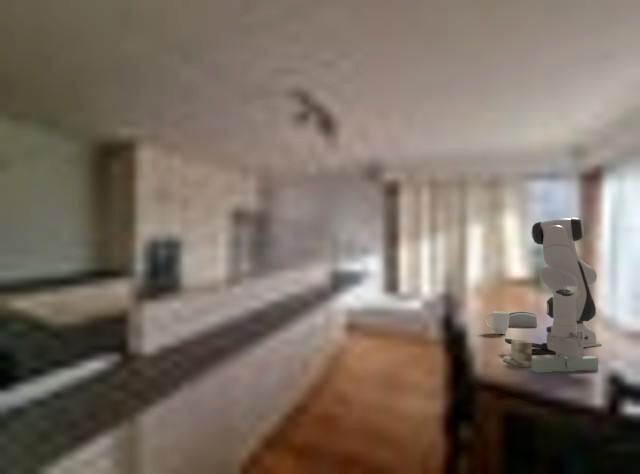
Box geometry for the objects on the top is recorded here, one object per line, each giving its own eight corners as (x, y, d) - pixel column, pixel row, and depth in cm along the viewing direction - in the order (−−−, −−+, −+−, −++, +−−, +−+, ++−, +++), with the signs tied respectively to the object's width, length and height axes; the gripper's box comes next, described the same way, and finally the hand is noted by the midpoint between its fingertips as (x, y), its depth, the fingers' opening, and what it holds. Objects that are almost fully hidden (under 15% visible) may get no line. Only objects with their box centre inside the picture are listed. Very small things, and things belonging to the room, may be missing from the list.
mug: (509, 333, 308) (509, 311, 308) (508, 336, 300) (508, 313, 300) (487, 331, 313) (487, 310, 312) (485, 335, 304) (485, 312, 304)
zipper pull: (503, 337, 261) (560, 339, 258) (503, 352, 261) (560, 353, 258) (507, 341, 252) (566, 342, 249) (507, 356, 252) (566, 358, 249)
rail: (592, 368, 231) (592, 355, 231) (598, 370, 227) (598, 358, 227) (531, 370, 228) (531, 358, 228) (536, 372, 224) (536, 360, 224)
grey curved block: (536, 325, 332) (537, 310, 329) (537, 329, 328) (538, 314, 324) (506, 324, 336) (506, 309, 332) (507, 328, 332) (507, 313, 328)
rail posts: (572, 357, 250) (572, 327, 250) (589, 363, 238) (589, 332, 238) (503, 360, 245) (503, 330, 245) (517, 366, 233) (517, 335, 233)
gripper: (588, 335, 217) (588, 371, 218) (557, 326, 238) (557, 359, 238) (573, 336, 216) (573, 372, 217) (543, 327, 237) (543, 360, 237)
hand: (564, 365), depth 227 cm, fingers closed on rail, 4 cm apart
